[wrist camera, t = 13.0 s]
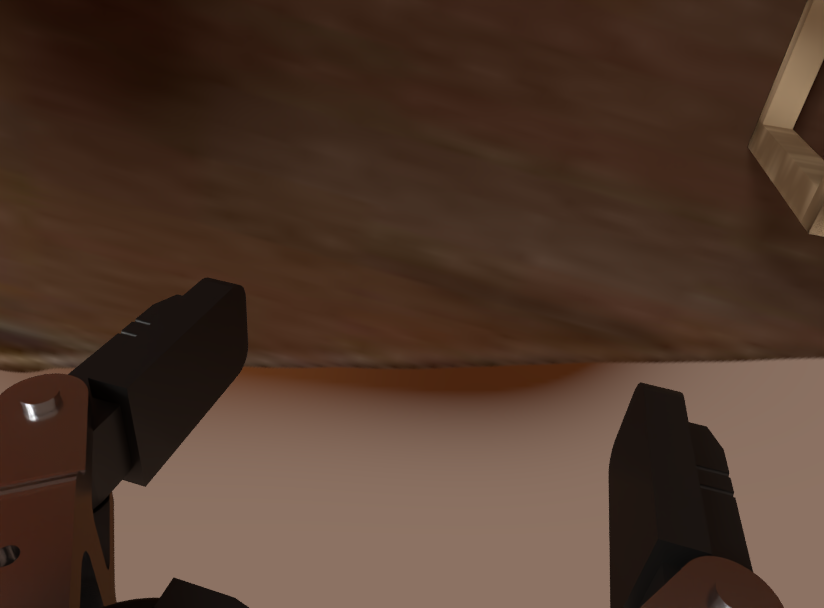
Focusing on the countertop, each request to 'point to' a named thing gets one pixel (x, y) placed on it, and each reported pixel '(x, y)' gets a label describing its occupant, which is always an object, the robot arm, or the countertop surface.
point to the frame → (774, 136)
